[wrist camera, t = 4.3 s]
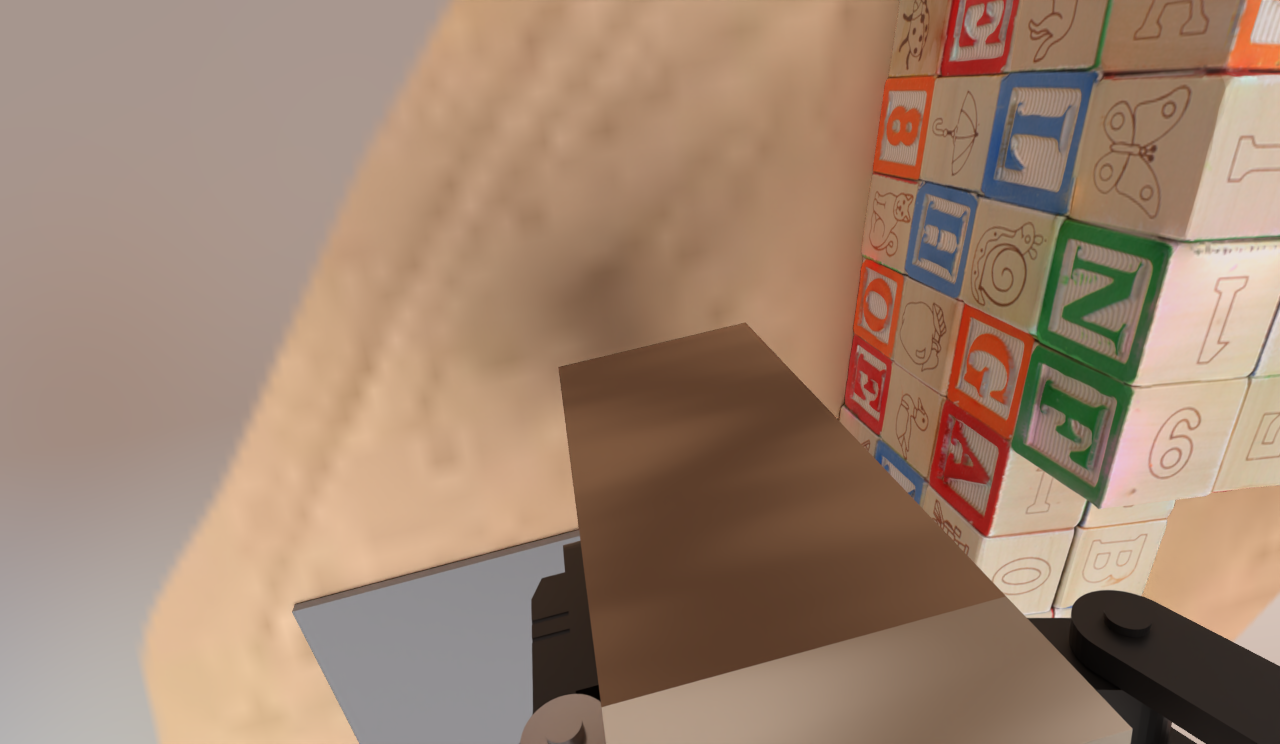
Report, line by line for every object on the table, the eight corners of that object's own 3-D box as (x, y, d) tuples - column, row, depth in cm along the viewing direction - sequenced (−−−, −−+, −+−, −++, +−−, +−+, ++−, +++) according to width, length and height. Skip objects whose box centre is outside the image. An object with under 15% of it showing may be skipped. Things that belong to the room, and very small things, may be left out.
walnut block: (745, 322, 14) (1133, 729, 5) (780, 581, 17) (1073, 1140, 8) (558, 367, 14) (623, 878, 5) (625, 623, 17) (745, 1250, 8)
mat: (783, 475, 28) (787, 480, 28) (816, 763, 36) (819, 770, 35) (294, 604, 27) (292, 611, 26) (434, 880, 34) (433, 888, 34)
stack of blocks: (949, 516, 31) (1198, 756, 20) (820, 529, 30) (1006, 790, 19) (1069, -21, 23) (1602, -123, 12) (897, -30, 22) (1305, -149, 11)
